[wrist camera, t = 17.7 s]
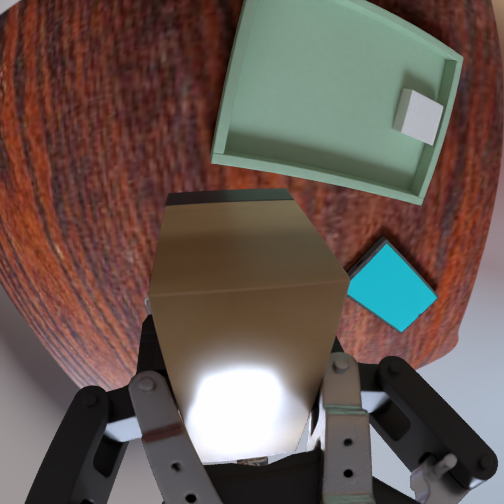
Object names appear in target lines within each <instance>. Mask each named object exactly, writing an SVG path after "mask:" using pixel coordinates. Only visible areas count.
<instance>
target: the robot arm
mask: <svg viewBox="0 0 504 504" xmlns="http://www.w3.org/2000/svg"><path fill="white" fill-rule="evenodd" d="M369 423H370V424H371V425H372V427H373V428H374V429H375V430H376V431H377V433H378V434H379V435H380V436H381V437H382V438H383V440H384V441H385V442H386V443H387V444H388V446H389V447H390V448H391V449H392V450H393V452H394V453H395V454H396V455H397V456H398V458H399V459H400V460H401V461H402V462H403V463H404V465H405V466H406V467H407V468H408V469H409V470H410V472H411V476H410V488H411V489H412V490H413V491H414V492H415V496H416V499H415V500H414V499H412V498H411V497H409V496H407V495H405V494H403V493H401V492H400V491H398V490H396V489H394V488H392V487H391V486H389V485H387V484H385V483H384V482H382V481H380V480H379V479H377V478H375V477H374V476H372V459H371V441H370V425H369ZM139 437H142V438H141V439H142V444H143V447H144V449H145V452H146V455H147V458H148V461H149V464H150V467H151V469H152V472H153V475H154V477H155V480H156V482H157V484H158V487H159V489H160V492H161V495H162V497H163V499H164V501H163V502H162V504H458V503H459V502H460V501H461V500H462V499H463V497H464V496H465V495H466V494H467V493H468V492H469V491H470V490H472V489H474V488H476V487H477V486H479V485H480V484H482V483H483V482H485V481H487V480H488V479H490V478H491V477H492V476H493V475H494V474H495V473H496V471H497V467H498V460H497V456H496V454H495V453H494V451H493V450H492V449H491V448H490V447H489V446H488V445H487V444H486V443H485V442H484V441H483V440H482V439H481V438H480V437H479V435H477V433H476V432H475V431H474V430H473V429H472V428H471V427H470V426H469V425H468V424H467V423H466V422H465V421H464V420H463V419H462V418H461V417H460V416H459V415H458V414H457V413H456V412H455V410H454V409H453V408H452V407H451V406H450V405H449V404H448V403H447V402H446V401H445V400H444V399H443V398H442V397H441V396H440V395H439V394H438V393H437V392H436V391H435V390H434V389H433V388H432V387H431V386H430V385H429V384H428V383H427V382H426V381H425V380H424V379H423V378H422V377H421V376H420V375H419V374H418V373H417V372H416V371H415V370H414V369H413V368H412V367H411V366H410V365H409V364H408V363H407V362H406V361H405V360H403V359H402V358H400V357H396V356H388V357H385V358H383V359H382V360H381V361H380V363H379V365H378V364H364V363H359V362H357V361H356V360H355V359H354V358H353V357H352V356H351V355H349V354H347V353H344V351H343V349H342V347H341V345H340V343H339V340H338V338H337V336H336V337H335V340H334V343H333V347H332V350H331V353H330V356H329V360H328V363H327V366H326V369H325V372H324V375H323V378H322V381H321V384H320V387H319V390H318V393H317V396H316V399H315V401H314V404H313V407H312V409H311V412H310V418H309V436H308V444H307V448H306V452H302V453H298V454H292V455H290V456H287V457H285V458H283V459H280V460H278V461H276V462H273V463H271V464H268V465H265V466H255V465H244V464H235V463H227V464H215V465H202V462H201V460H200V458H199V456H198V454H197V452H196V450H195V448H194V445H193V443H192V441H191V439H190V437H189V434H188V432H187V430H186V428H185V426H184V424H183V422H182V420H181V418H180V415H179V413H178V405H177V402H176V399H175V396H174V393H173V389H172V386H171V383H170V380H169V376H168V373H167V369H166V366H165V362H164V359H163V355H162V351H161V348H160V344H159V340H158V336H157V332H156V328H155V324H154V320H153V316H152V314H149V315H148V316H147V318H146V319H145V321H144V322H143V325H142V332H141V339H140V347H139V355H138V364H137V372H136V375H135V376H134V377H133V378H132V379H131V380H130V382H129V384H128V385H126V386H124V387H122V388H119V389H116V390H112V391H108V392H106V391H105V390H104V389H103V388H101V387H99V386H93V385H92V386H86V387H84V388H82V389H81V390H79V391H78V392H77V394H76V395H75V397H74V399H73V401H72V403H71V405H70V407H69V408H68V411H67V412H66V414H65V416H64V418H63V420H62V422H61V424H60V426H59V428H58V430H57V432H56V434H55V436H54V438H53V440H52V442H51V445H50V447H49V449H48V451H47V453H46V455H45V458H44V459H43V462H42V464H41V466H40V468H39V470H38V473H37V475H36V477H35V480H34V482H33V484H32V487H31V489H30V491H29V494H28V496H27V499H26V501H25V504H107V501H108V499H109V496H110V492H111V490H112V487H113V484H114V481H115V478H116V476H117V473H118V470H119V468H120V465H121V462H122V459H123V457H124V454H125V451H126V449H127V446H128V443H129V441H130V440H132V439H136V438H139Z"/></svg>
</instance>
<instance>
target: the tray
mask: <svg viewBox="0 0 504 504" xmlns="http://www.w3.org/2000/svg"><path fill="white" fill-rule="evenodd" d="M462 62H463V57H462V56H461V55H459V54H458V53H457V52H455V51H454V50H452V49H451V48H449V47H448V46H446V45H445V44H443V43H442V42H440V41H439V40H437V39H436V38H434V37H433V36H431V35H430V34H428V33H426V32H425V31H423V30H421V29H420V28H418V27H416V26H414V25H413V24H411V23H409V22H407V21H406V20H404V19H402V18H400V17H398V16H396V15H395V14H393V13H391V12H389V11H387V10H385V9H383V8H381V7H379V6H376V5H374V4H372V3H370V2H368V1H366V0H244V2H243V6H242V9H241V13H240V17H239V21H238V25H237V29H236V34H235V38H234V42H233V46H232V51H231V55H230V59H229V64H228V68H227V73H226V77H225V82H224V87H223V92H222V96H221V101H220V106H219V111H218V116H217V121H216V127H215V132H214V137H213V143H212V148H211V154H210V158H211V163H214V164H221V165H228V166H235V167H242V168H248V169H254V170H261V171H267V172H273V173H278V174H284V175H289V176H295V177H300V178H305V179H310V180H315V181H320V182H325V183H330V184H335V185H340V186H344V187H349V188H353V189H357V190H362V191H366V192H370V193H375V194H379V195H383V196H387V197H391V198H395V199H399V200H402V201H406V202H410V203H414V204H417V205H422V202H423V199H424V197H425V194H426V192H427V189H428V186H429V183H430V180H431V178H432V175H433V172H434V169H435V166H436V163H437V160H438V157H439V153H440V150H441V147H442V144H443V140H444V137H445V134H446V130H447V127H448V123H449V119H450V115H451V112H452V108H453V104H454V100H455V95H456V91H457V87H458V82H459V77H460V73H461V67H462ZM403 88H405V89H411V90H414V91H416V92H418V93H420V94H422V95H424V96H426V97H428V98H430V99H432V100H433V101H435V102H437V103H439V104H441V105H442V106H444V107H443V111H442V115H441V119H440V122H439V126H438V129H437V133H436V136H435V140H434V143H433V146H432V145H429V144H427V143H424V142H422V141H420V140H417V139H415V138H412V137H410V136H408V135H405V134H403V133H400V132H398V131H395V130H392V127H393V123H394V119H395V116H396V112H397V108H398V105H399V101H400V97H401V93H402V89H403Z"/></svg>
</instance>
